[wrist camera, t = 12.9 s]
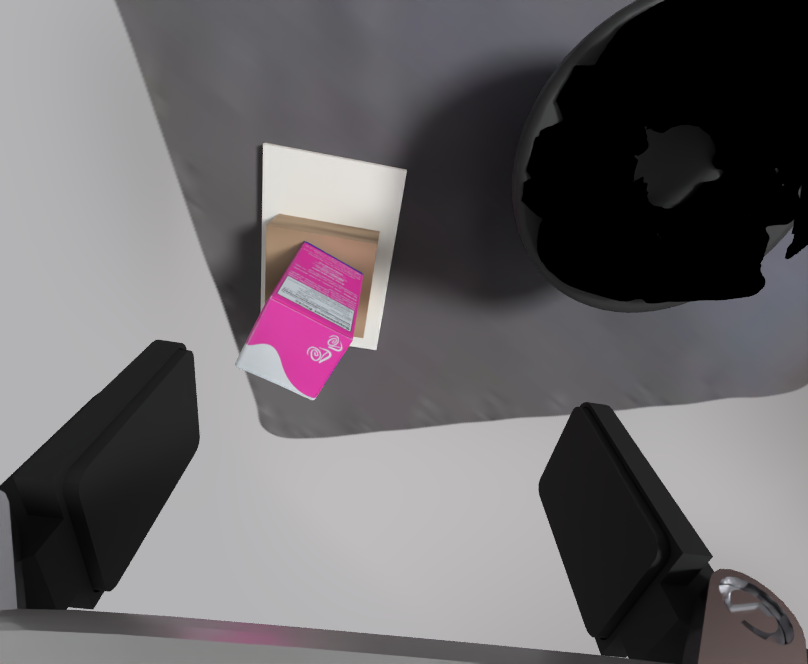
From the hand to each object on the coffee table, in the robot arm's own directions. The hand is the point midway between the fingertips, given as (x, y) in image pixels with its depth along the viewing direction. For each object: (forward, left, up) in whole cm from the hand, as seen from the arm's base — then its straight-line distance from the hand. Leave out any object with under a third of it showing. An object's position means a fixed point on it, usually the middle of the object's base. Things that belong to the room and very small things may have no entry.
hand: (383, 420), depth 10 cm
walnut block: (+8, -5, -30) cm, 31 cm away
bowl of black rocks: (-6, +17, -31) cm, 35 cm away
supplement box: (+8, -5, -26) cm, 27 cm away
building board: (+7, -5, -30) cm, 32 cm away
